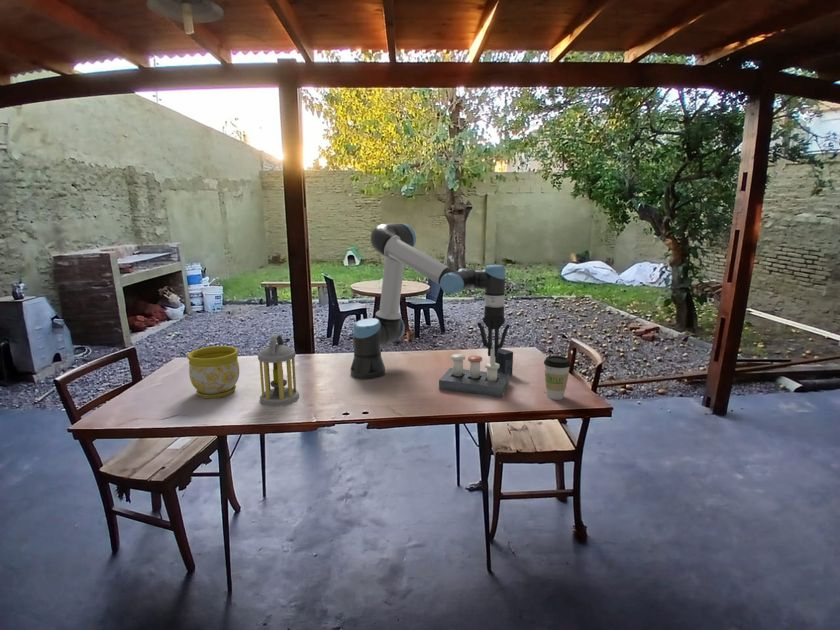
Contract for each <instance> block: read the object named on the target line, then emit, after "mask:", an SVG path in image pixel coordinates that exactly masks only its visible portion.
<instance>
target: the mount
mask: <svg viewBox="0 0 840 630" xmlns="http://www.w3.org/2000/svg"><path fill="white" fill-rule="evenodd" d="M509 384H510V376H509V374H501V373H497V382H493V381H487V371H482V370H480V377H479V378H471V377H470V369H464V368H463V375H462V376H454V375H453V367H449V368H448V369H447V371H446V372H445V373H444V374H443V375H442V377H440V378H439V380H438V390H439V391H446V392H454V393H463V394H470V395H478V396H484V397H485V396H486V397H491V398H492V397H493V398H503V396H504V394H505V392H506V390H507V388H508V386H509Z"/></svg>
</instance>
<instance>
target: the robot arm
mask: <svg viewBox="0 0 840 630" xmlns="http://www.w3.org/2000/svg"><path fill="white" fill-rule="evenodd" d="M416 242H417V236H416V233H415V231H414V230H413V228H412V227H411V226H410V225H409V224H407V223H400V222H397V223H396V222H395V223H381V224H379V225H376V226H375V228H373V230H372V231H371V234H370V243H371V246H372V248H373V249H374V251H376V252H378V253H379V254H380V255H383V257H384V264H383V275H382V285H381V292H380V294H381V295H380V302H379V310H377V311H376V312H375V317H374V318H373V317H372V318H363V319H359V320H358V321H356V322H354V324H353V327H352V328H353V331H352V335H353V337H352V338H353V360H352V363H351V367H350V376H351V377H353V378H355V379H360V380H361V379H362V380H370V379H371V380H373V379H378V378H381V377H383V376H384V375H385V374H386V366H385V363H384V360H383V358H382V347H383V346H386V345H388V344H393V343H395V342H397V341H399V340H400V339H401V338H402V337H403V335H405V328H406V327H405V322H404V320H403V319H402V314H401V313H400V312H399V311H400V302H401V295H402V289H403V288H402V286H403V279H404V271H405V266H406V267H408V268H410V269H412V270H413V271H415V272H417V273H418V274H420V275H422V276H424V277H425V278H427V279H429V280H430V281H432V282H435V283H436V284H438V285H439V286H440V288H441V290H442V292H444V293H445V294H447V295H448V294H449V295H451V294H452V295H453V294H457V293H461V292H463V291H468V290H471V289H476V290H477V289H478V290H484V304H485V306H484V310H483V311H484V312H483V313H484V314H483V318H482V320H480V321H478V322H477V327H478V328H479V332H480V337H481V340H482V345H483V347H485V348H487V356H488V357H489V359H490V360H489V361H490V362H489V363H490V365H494V364H495V357H497V356H498V348H501V349H503V346H504V344H505V341H506V337H507V334H508V331H509V328H510V327H511V325H512V324H511V323H509V322H508V321H506V319H505V306H504V305H505V301H506V299H505V297H506V294H505V292H506V291H505V290H506V278H507V277H506V267H505V266H504V265H502V264H487V265H485V268H484V269H475V268H469V267H468V268H467V267H465V268H459V269H458V271H457V270H455V269H453V268H451V267H449V266H448V265H446V264H445V263H442V262H441V261H439V260H437V259H435V258H434V257H431V256H430V255H428V254H427V253H424V252H422V251H421V250H419V249H417V248H415V247H414V246H415V244H416ZM484 326H486V328H487V334H486V331H485V327H484ZM501 327H503V328H504V329H503V331H502V335H501V339H500V329H501ZM493 330H494V346H493Z"/></svg>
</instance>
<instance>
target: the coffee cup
mask: <svg viewBox="0 0 840 630" xmlns="http://www.w3.org/2000/svg"><path fill="white" fill-rule="evenodd" d="M543 364H544V368H545V369H544V373H545V374H544V377H545V388H546V397H547V398H548V399H551V400H557V401H559V400H560V401H561V400H563V399H564V397H565V393H566V388H567V384H568V379H569V373H570V372H569V371H570V367H572V363H571V361H570V359H569V358H568V357H565V356H562V355H561V356H560V355H548V356H546V358H545V359H544V361H543Z"/></svg>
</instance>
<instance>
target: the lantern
mask: <svg viewBox="0 0 840 630" xmlns="http://www.w3.org/2000/svg"><path fill="white" fill-rule="evenodd" d="M295 357H296V351H295V350H294V349H293V348H292V347H291V346H288V345H285V344H284V339H283V337H282V335H281V334H279V333H278V334H275V333H274V334H272V335H271V337H270V340H269V345H268V346H266V347H264V348H262V349H261V351H259V352H258V354H257V359H258V361H259V371H260V373H259V374H260V385H261V395H260V396H259V402H260V404H263V405H264V406H268V407H270V406H271V407H279V406H280V407H281V406H285V405H290V404H292V403H295V402H296V401H298V400H299V398H300V393H299V391H298V390H297V380H296V379H297V378H296V364H295V363H296V361H295ZM284 362H285V363H286V375H287V376H286V378H287V380H286V379H284V369H283V363H284ZM291 363H292V364H291ZM269 364H272V366H273V367H272V368H273V369H272V376H273V380H271V376H270V365H269ZM285 386H287V387H285ZM271 387H272V388H271Z"/></svg>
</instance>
